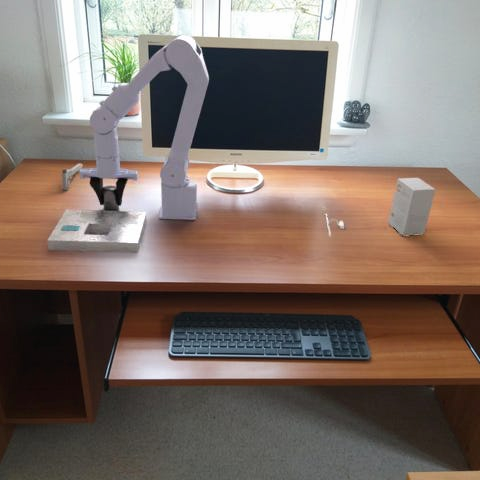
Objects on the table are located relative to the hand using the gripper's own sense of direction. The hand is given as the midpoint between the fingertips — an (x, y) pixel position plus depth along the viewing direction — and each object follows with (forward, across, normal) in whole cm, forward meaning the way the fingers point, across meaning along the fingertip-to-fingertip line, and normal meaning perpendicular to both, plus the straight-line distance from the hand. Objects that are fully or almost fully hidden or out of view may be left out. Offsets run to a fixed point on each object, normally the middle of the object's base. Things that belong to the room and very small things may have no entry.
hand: (111, 203), depth 133 cm
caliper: (+2, +15, -21) cm, 26 cm away
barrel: (+2, 0, 0) cm, 2 cm away
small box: (+2, -78, +6) cm, 78 cm away
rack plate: (+2, 0, +14) cm, 14 cm away
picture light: (+2, -59, +5) cm, 59 cm away
